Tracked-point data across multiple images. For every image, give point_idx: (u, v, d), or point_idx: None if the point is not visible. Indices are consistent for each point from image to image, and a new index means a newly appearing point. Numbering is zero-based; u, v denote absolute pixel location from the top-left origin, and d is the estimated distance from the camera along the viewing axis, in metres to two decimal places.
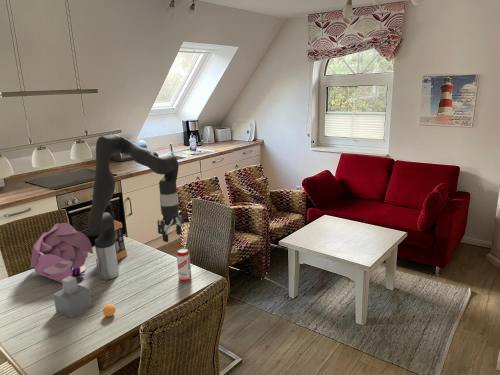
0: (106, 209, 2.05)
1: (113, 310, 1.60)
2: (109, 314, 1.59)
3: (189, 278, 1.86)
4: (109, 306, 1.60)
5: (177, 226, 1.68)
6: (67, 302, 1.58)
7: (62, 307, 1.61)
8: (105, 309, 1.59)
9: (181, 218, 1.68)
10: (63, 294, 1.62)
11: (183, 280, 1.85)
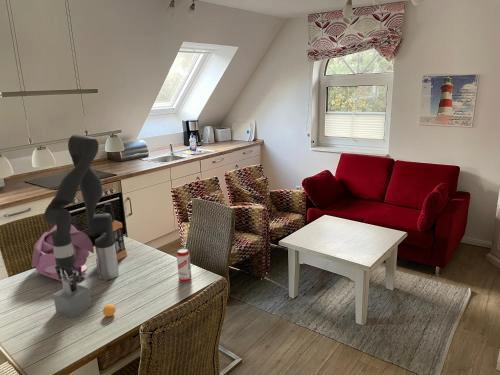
0: (106, 209, 2.05)
1: (113, 310, 1.60)
2: (109, 314, 1.59)
3: (189, 278, 1.86)
4: (109, 306, 1.60)
5: None
6: (67, 302, 1.59)
7: (62, 307, 1.62)
8: (105, 309, 1.59)
9: None
10: (63, 294, 1.62)
11: (183, 280, 1.85)
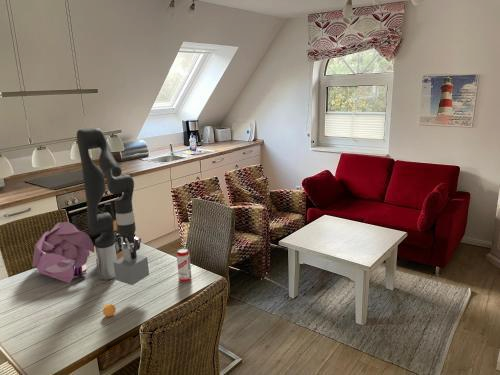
0: (106, 209, 2.05)
1: (113, 310, 1.60)
2: (109, 314, 1.59)
3: (189, 278, 1.86)
4: (109, 306, 1.60)
5: None
6: (129, 269, 1.62)
7: (123, 274, 1.65)
8: (105, 309, 1.59)
9: None
10: (124, 262, 1.66)
11: (183, 280, 1.85)
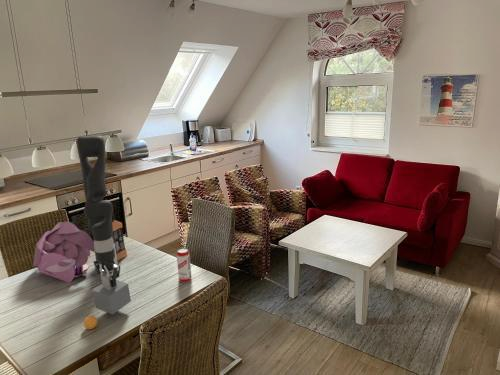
0: None
1: (94, 325, 1.52)
2: (95, 319, 1.53)
3: (189, 278, 1.86)
4: None
5: None
6: (108, 298, 1.54)
7: (102, 303, 1.57)
8: None
9: None
10: (103, 290, 1.58)
11: (183, 280, 1.85)
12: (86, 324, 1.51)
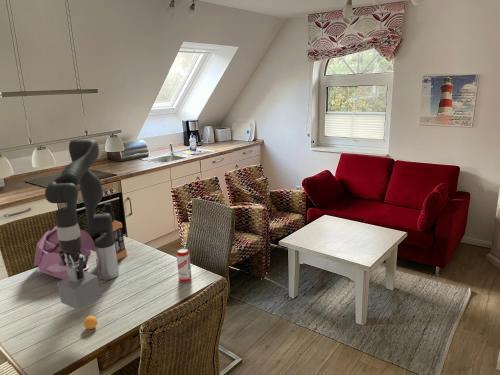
0: (106, 209, 2.05)
1: (94, 325, 1.52)
2: (95, 319, 1.53)
3: (189, 278, 1.86)
4: None
5: None
6: (73, 291, 1.39)
7: (68, 297, 1.43)
8: None
9: None
10: (69, 283, 1.43)
11: (183, 280, 1.85)
12: (86, 324, 1.51)
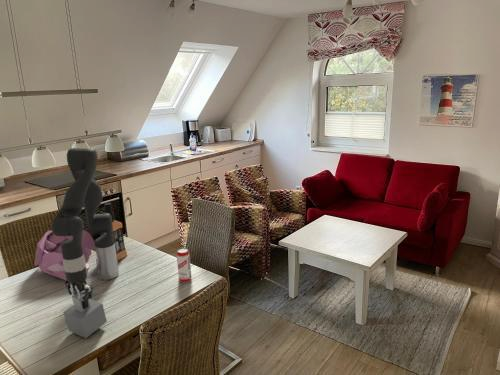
0: (106, 209, 2.05)
1: None
2: None
3: (189, 278, 1.86)
4: None
5: None
6: (80, 321, 1.43)
7: (75, 326, 1.47)
8: None
9: None
10: (75, 312, 1.47)
11: (183, 280, 1.85)
12: None
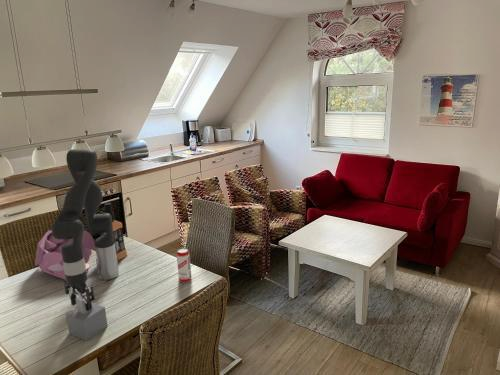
0: (106, 209, 2.05)
1: None
2: None
3: (189, 278, 1.86)
4: None
5: (72, 296, 1.49)
6: (82, 323, 1.44)
7: (76, 328, 1.47)
8: None
9: None
10: (77, 314, 1.48)
11: (183, 280, 1.85)
12: None
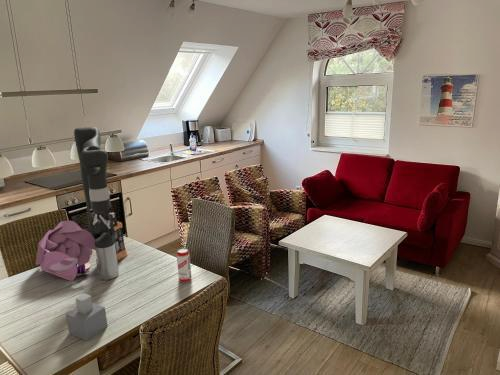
0: None
1: None
2: None
3: (189, 278, 1.86)
4: None
5: (96, 224, 1.63)
6: (82, 323, 1.44)
7: (76, 328, 1.47)
8: None
9: (95, 215, 1.63)
10: (77, 314, 1.48)
11: (183, 280, 1.85)
12: None
